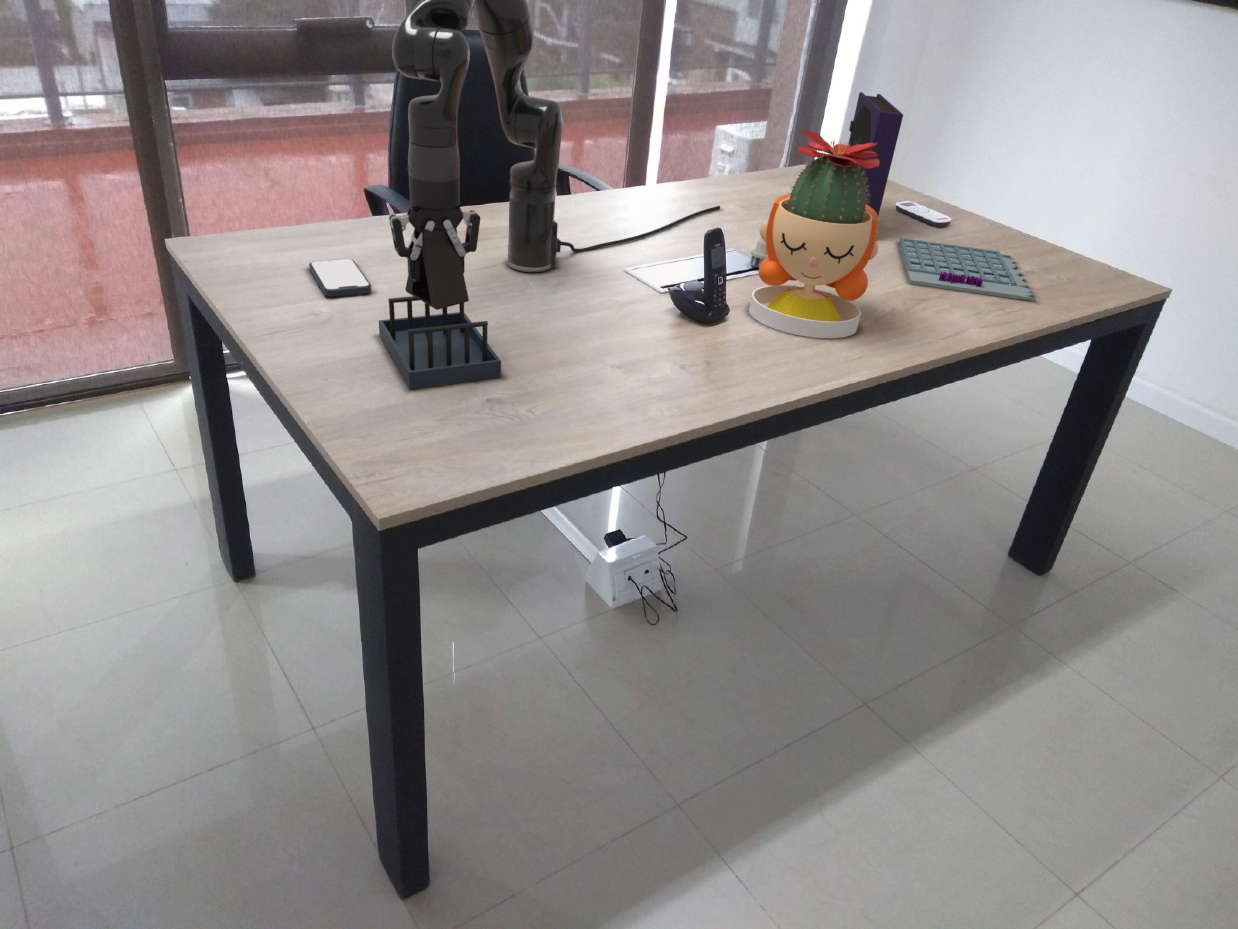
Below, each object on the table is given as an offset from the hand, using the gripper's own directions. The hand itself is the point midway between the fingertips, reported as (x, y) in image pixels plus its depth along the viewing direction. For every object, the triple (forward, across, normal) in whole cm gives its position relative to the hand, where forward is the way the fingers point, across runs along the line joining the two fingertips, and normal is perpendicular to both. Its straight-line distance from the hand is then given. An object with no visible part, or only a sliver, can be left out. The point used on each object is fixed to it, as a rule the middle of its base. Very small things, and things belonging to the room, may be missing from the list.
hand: (436, 278), depth 145 cm
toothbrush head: (+14, +90, +26) cm, 95 cm away
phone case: (+14, -9, +36) cm, 40 cm away
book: (+14, +122, +45) cm, 131 cm away
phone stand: (+3, 0, 0) cm, 3 cm away
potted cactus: (+14, +74, -1) cm, 75 cm away
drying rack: (+14, 0, 0) cm, 14 cm away
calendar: (+14, +128, +11) cm, 129 cm away
